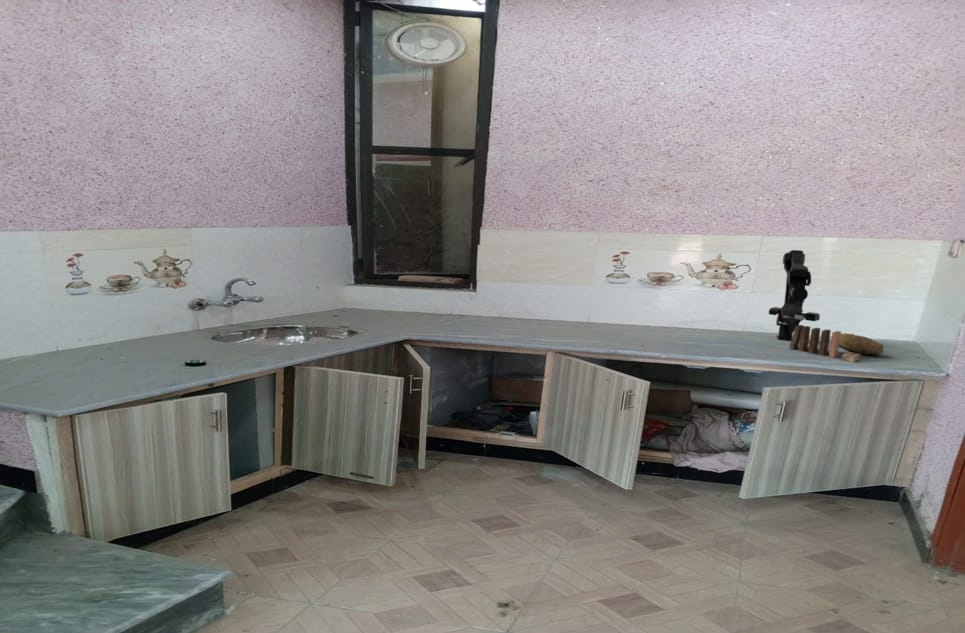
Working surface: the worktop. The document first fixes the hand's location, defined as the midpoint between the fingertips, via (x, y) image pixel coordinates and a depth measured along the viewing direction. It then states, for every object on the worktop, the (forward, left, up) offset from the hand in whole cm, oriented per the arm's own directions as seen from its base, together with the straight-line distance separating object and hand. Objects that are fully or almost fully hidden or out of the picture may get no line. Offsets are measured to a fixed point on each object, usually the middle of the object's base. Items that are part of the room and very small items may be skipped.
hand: (791, 333), depth 251 cm
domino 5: (+8, +15, -6) cm, 18 cm away
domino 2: (+3, +5, -6) cm, 8 cm away
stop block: (+12, +20, -6) cm, 24 cm away
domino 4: (+7, +12, -6) cm, 15 cm away
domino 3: (+5, +8, -6) cm, 11 cm away
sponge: (-6, +27, -6) cm, 29 cm away
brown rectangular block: (+1, +1, -6) cm, 6 cm away
